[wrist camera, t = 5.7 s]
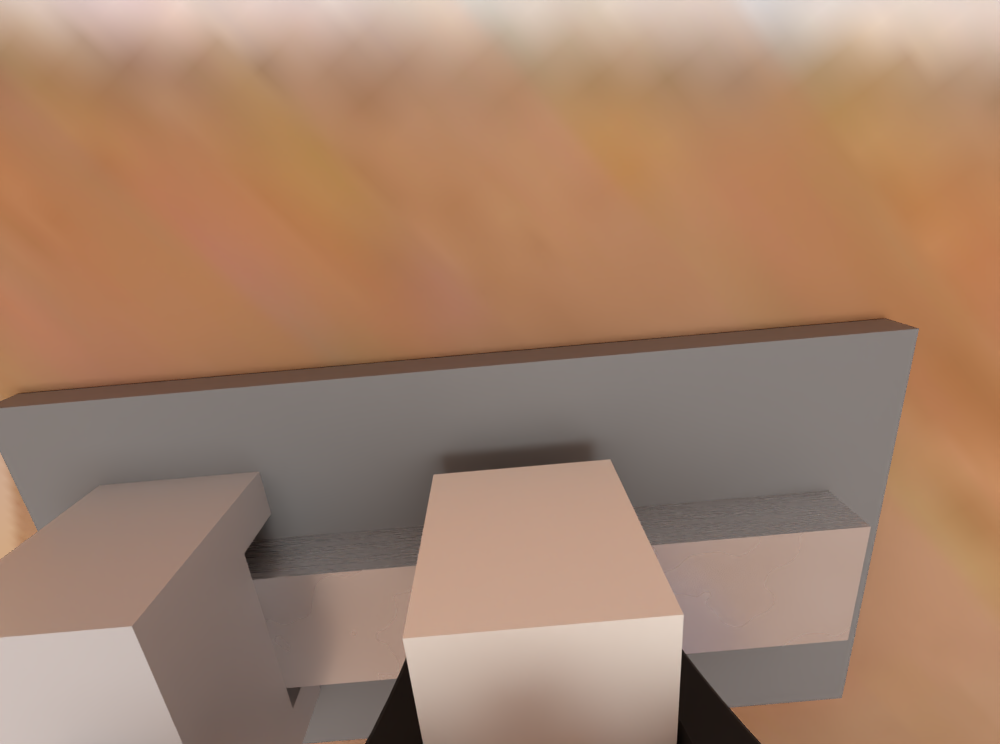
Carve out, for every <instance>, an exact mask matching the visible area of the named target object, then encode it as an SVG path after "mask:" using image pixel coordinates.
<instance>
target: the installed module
mask: <svg viewBox="0 0 1000 744" xmlns="http://www.w3.org/2000/svg"><path fill="white" fill-rule="evenodd" d="M270 515H271V512H270V508H269V505H268V501H267V498H266V494H265V491H264V487H263V484H262V480H261V476H260V473H259V472H249V473H238V474H226V475H215V476H203V477H192V478H180V479H168V480H157V481H145V482H134V483H122V484H110V485H99V486H98V487H97V488H95V489H94V490H93V491H91V492H90V493H89V494H87V495H86V496H85V497H83V498H82V499H81V500H79V501H78V502H77V503H75V504H74V505H73V506H71V507H70V508H68V509H67V510H66V511H64V512H63V513H62V514H60V515H59V516H58V517H56V518H55V519H54V520H52V521H51V522H50V523H48V524H47V525H46V526H44V527H43V528H42V529H40V530H39V531H38V532H36V533H35V534H34V535H32V536H31V537H30V538H28V539H27V540H26V541H24V542H23V543H22V544H20V545H19V546H18V547H16V548H15V549H14V550H12V551H11V552H10V553H8V554H7V555H6V556H4V557H3V558H2V559H0V744H302V743H303V740H304V737H305V734H306V731H307V728H308V725H309V722H310V719H311V716H312V713H313V710H314V707H315V705H316V702H317V699H318V696H319V693H320V690H321V689H320V686H319V685H317V686H305V687H293V688H286V685H285V682H284V679H283V676H282V673H281V669H280V666H279V663H278V660H277V657H276V653H275V650H274V647H273V644H272V641H271V637H270V634H269V631H268V628H267V625H266V621H265V618H264V615H263V612H262V609H261V605H260V602H259V599H258V596H257V593H256V590H255V586H254V583H253V580H252V577H251V574H250V570H249V567H248V564H247V561H246V558H245V554H244V553H245V552H246V550H247V549H248V547H249V546H250V544H251V543H252V541H253V540H254V538H255V537H256V535H257V534H258V533H259V531H260V530H261V528H262V527H263V525H264V524H265V522H266V521H267V519H268V518H269V516H270Z"/></svg>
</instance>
